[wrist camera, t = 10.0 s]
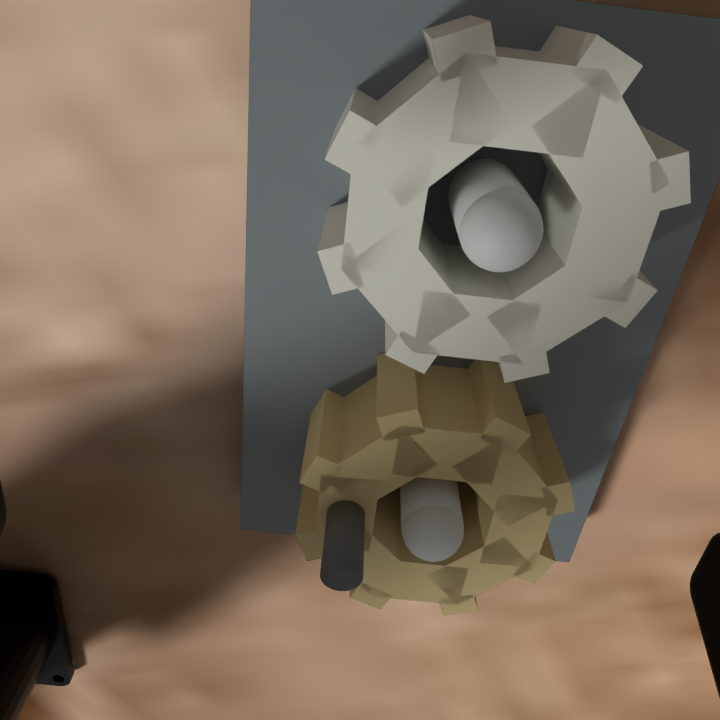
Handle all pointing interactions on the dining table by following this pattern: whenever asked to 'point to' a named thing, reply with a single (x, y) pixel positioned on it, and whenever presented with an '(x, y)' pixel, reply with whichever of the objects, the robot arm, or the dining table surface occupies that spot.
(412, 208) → the loose gear
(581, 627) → the dining table surface
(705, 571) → the robot arm
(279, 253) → the gear board
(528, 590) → the dining table surface
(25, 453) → the dining table surface
